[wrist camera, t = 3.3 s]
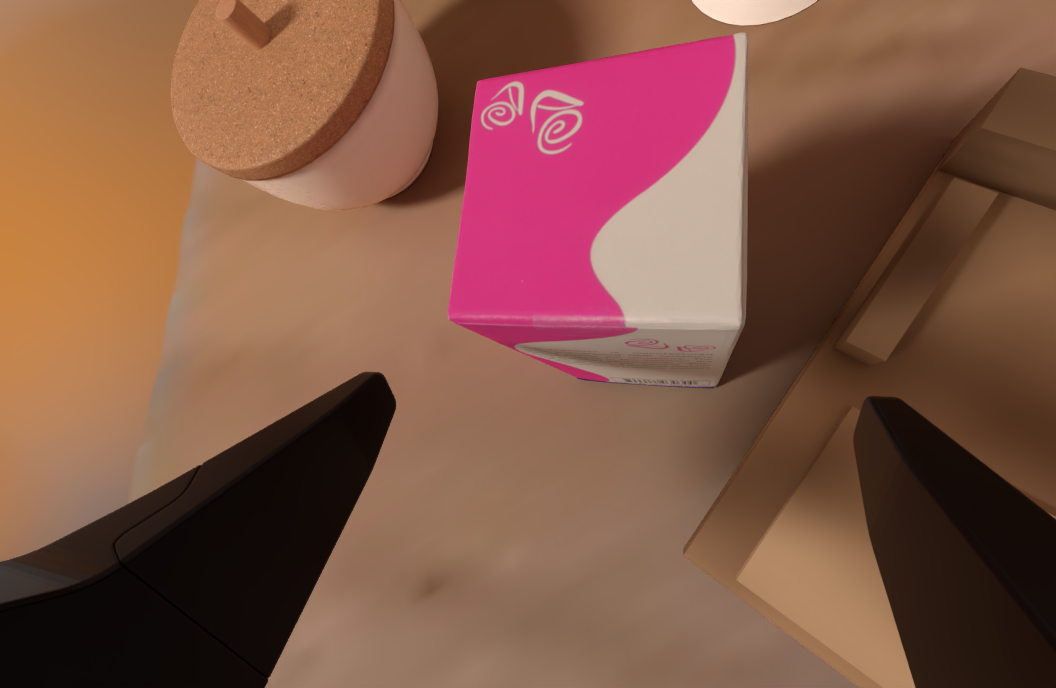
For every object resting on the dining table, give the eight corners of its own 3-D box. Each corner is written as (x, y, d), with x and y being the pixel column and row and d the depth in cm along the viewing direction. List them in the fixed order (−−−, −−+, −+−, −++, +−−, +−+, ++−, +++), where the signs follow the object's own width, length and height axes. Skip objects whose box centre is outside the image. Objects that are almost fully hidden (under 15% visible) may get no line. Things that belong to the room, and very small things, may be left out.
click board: (1060, 828, 13) (1179, 959, 10) (683, 548, 18) (681, 577, 14) (1455, 293, 12) (1724, 248, 9) (957, 136, 17) (1020, 67, 14)
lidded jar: (459, 240, 23) (318, 131, 14) (293, 242, 27) (99, 157, 18) (485, 43, 24) (370, -167, 16) (323, 71, 28) (156, -86, 19)
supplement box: (723, 244, 19) (763, 17, 8) (717, 390, 18) (754, 349, 7) (582, 248, 21) (468, 69, 10) (572, 380, 20) (437, 336, 9)
